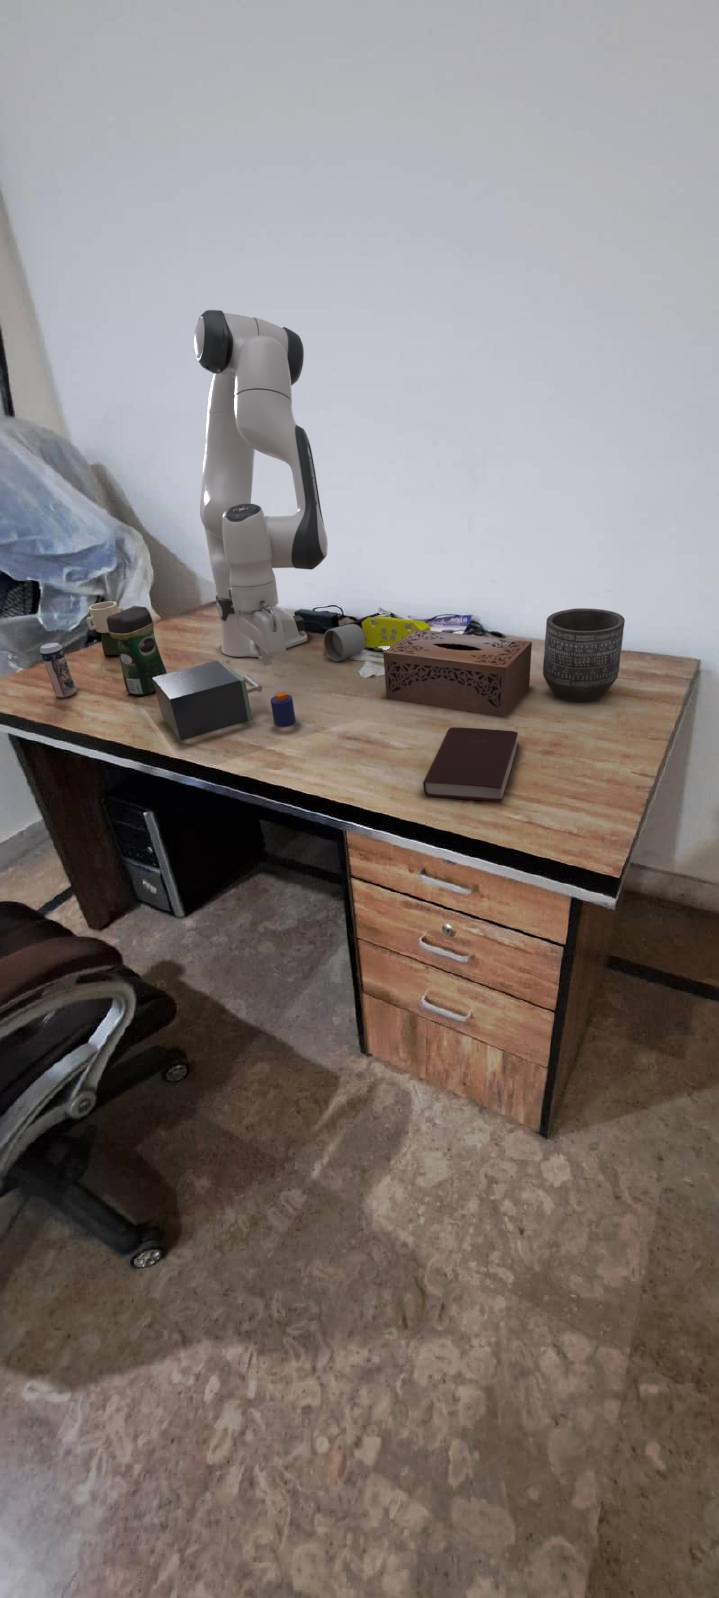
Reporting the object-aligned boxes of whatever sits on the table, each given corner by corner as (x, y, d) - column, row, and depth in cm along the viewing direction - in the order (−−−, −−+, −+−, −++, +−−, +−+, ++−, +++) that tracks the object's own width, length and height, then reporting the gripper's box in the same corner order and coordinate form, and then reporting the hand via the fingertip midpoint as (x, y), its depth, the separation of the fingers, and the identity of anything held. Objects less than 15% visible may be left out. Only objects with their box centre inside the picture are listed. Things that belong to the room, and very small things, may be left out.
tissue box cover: (529, 688, 139) (531, 641, 134) (504, 717, 129) (505, 667, 123) (417, 672, 151) (415, 629, 146) (386, 697, 141) (383, 652, 136)
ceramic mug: (369, 654, 163) (367, 622, 159) (344, 664, 159) (341, 632, 155) (341, 646, 170) (337, 616, 166) (316, 656, 166) (312, 625, 162)
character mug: (126, 644, 185) (112, 597, 178) (141, 649, 181) (128, 600, 174) (91, 658, 179) (76, 609, 172) (106, 662, 175) (91, 613, 168)
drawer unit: (226, 704, 145) (217, 660, 140) (249, 727, 135) (240, 680, 129) (164, 722, 140) (151, 677, 135) (182, 747, 130) (170, 699, 124)
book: (422, 796, 108) (422, 779, 106) (448, 740, 123) (448, 724, 121) (501, 805, 104) (502, 787, 102) (518, 745, 119) (519, 729, 117)
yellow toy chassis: (363, 650, 166) (360, 617, 161) (375, 642, 170) (372, 609, 165) (420, 658, 158) (419, 623, 154) (431, 650, 162) (430, 616, 157)
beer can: (69, 698, 156) (52, 648, 149) (51, 698, 157) (34, 649, 150) (81, 690, 160) (64, 641, 153) (63, 690, 161) (46, 641, 154)
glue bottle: (291, 721, 135) (285, 687, 131) (300, 729, 132) (295, 694, 128) (272, 727, 134) (266, 693, 130) (280, 735, 130) (274, 700, 126)
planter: (528, 697, 135) (531, 624, 127) (563, 673, 144) (569, 603, 136) (594, 713, 127) (603, 637, 119) (628, 687, 135) (638, 614, 127)
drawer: (248, 696, 147) (241, 655, 142) (272, 717, 136) (265, 674, 131) (168, 719, 140) (157, 676, 135) (187, 743, 130) (175, 698, 125)
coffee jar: (151, 678, 162) (130, 601, 152) (175, 683, 158) (155, 604, 148) (120, 694, 155) (97, 615, 145) (145, 699, 152) (122, 618, 142)
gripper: (288, 605, 124) (297, 675, 132) (254, 582, 140) (264, 646, 148) (256, 611, 122) (267, 683, 130) (225, 587, 138) (236, 652, 145)
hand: (265, 663), depth 139 cm, fingers closed
